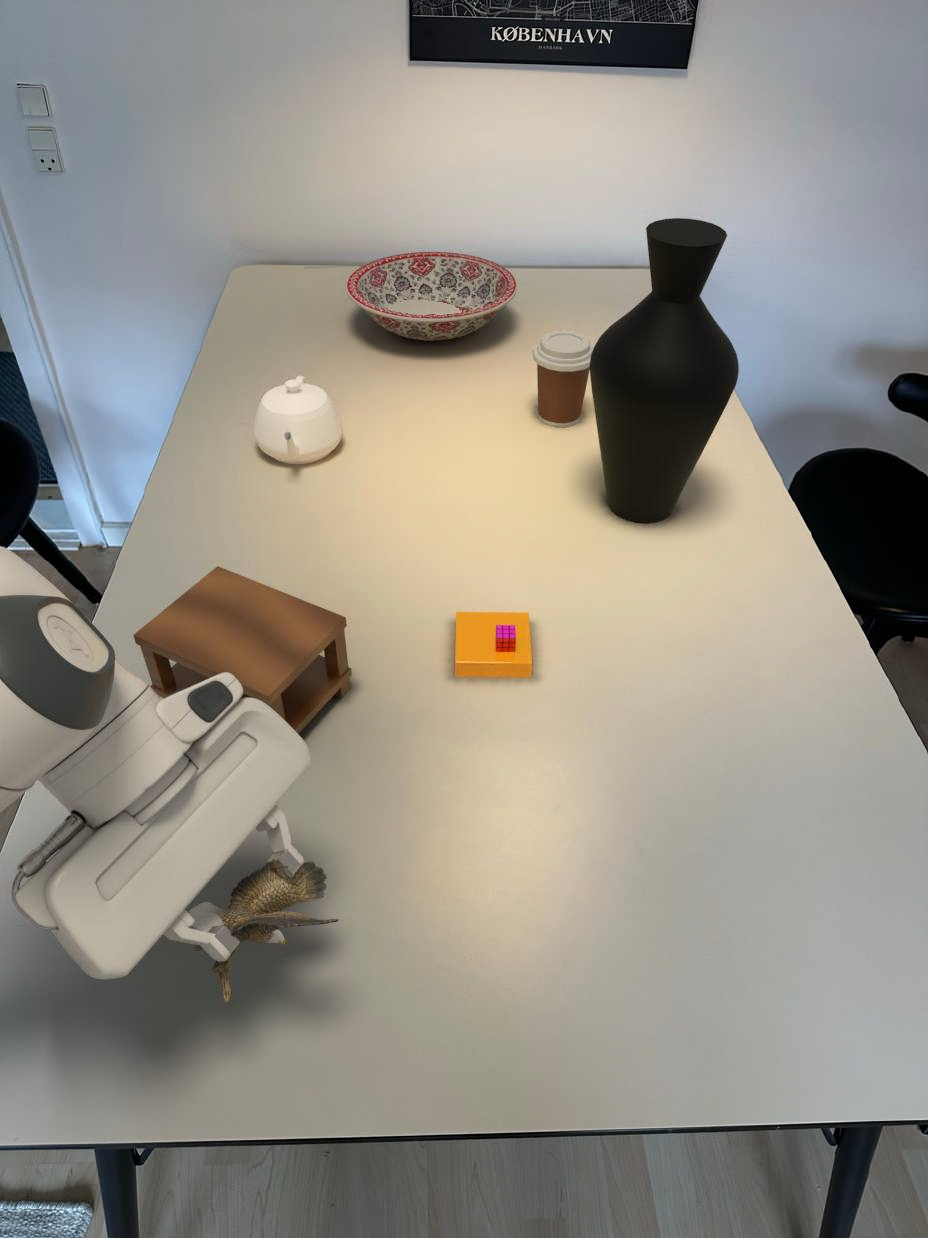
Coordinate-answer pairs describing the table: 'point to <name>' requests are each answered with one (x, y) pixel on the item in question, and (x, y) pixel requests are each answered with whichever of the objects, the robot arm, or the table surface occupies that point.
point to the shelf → (249, 645)
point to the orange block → (493, 644)
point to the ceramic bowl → (432, 292)
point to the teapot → (297, 423)
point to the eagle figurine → (262, 909)
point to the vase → (662, 376)
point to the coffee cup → (562, 376)
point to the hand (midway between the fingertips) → (263, 909)
